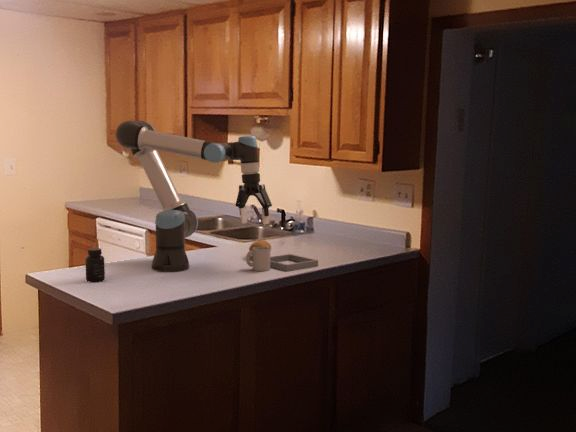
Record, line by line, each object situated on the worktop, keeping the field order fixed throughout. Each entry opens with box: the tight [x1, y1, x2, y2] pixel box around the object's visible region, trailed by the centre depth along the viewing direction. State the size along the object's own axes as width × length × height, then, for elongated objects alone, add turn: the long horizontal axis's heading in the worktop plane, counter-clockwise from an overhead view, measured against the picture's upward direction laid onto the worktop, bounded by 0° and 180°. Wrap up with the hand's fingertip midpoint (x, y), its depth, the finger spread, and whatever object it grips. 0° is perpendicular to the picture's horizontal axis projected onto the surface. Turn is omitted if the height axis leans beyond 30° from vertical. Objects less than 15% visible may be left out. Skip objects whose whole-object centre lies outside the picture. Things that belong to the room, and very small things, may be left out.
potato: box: [248, 239, 272, 256], centre depth 295 cm, size 10×14×8 cm
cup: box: [245, 247, 271, 272], centre depth 269 cm, size 7×10×9 cm
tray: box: [270, 253, 319, 272], centre depth 280 cm, size 18×18×2 cm
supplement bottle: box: [85, 247, 106, 283], centre depth 244 cm, size 7×7×12 cm
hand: (254, 223), depth 274 cm, fingers open, 13 cm apart
